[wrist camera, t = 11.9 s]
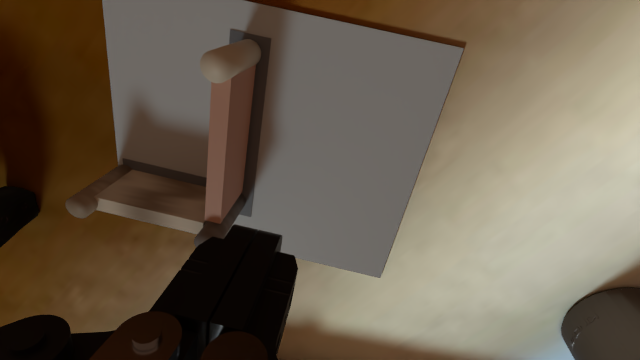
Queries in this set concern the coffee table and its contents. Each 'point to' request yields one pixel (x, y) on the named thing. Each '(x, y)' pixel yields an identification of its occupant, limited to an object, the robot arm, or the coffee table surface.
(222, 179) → the panel
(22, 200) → the black animal figurine
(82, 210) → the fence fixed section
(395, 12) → the coffee table surface
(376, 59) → the card
